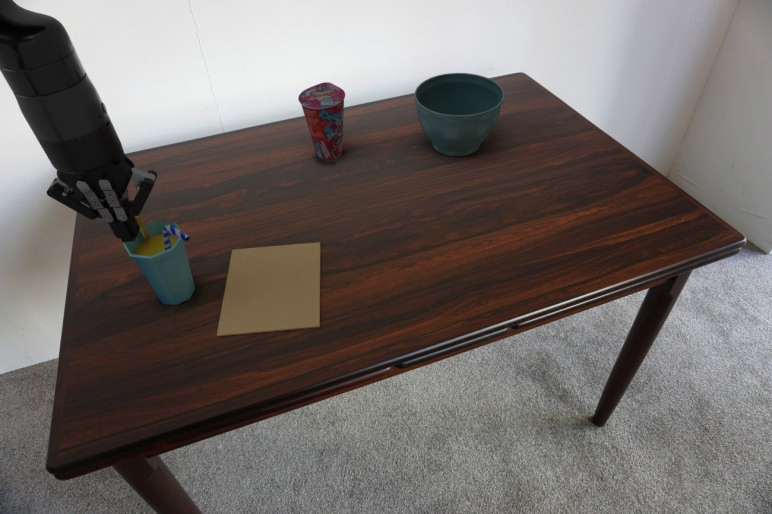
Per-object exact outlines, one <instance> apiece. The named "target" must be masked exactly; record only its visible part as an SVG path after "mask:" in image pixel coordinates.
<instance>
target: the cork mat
mask: <svg viewBox="0 0 772 514" xmlns="http://www.w3.org/2000/svg"><path fill="white" fill-rule="evenodd" d="M318 328H321V241H318V242H307V243H294V244H283V245H282V244H281V245H269V246H258V247H249V248H248V247H247V248H236V249H235V248H234V249H232V250H231V256H230V260H229V266H228V271H227V276H226V281H225V286H224V293H223V298H222V305H221V309H220V315H219V320H218V326H217V330H216V331H217V332H216V337H218V338H219V337H229V336H241V335H251V334H253V335H254V334H264V333H275V332H282V331H283V332H284V331H285V332H286V331H295V330H307V329H308V330H309V329H318Z"/></svg>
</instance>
